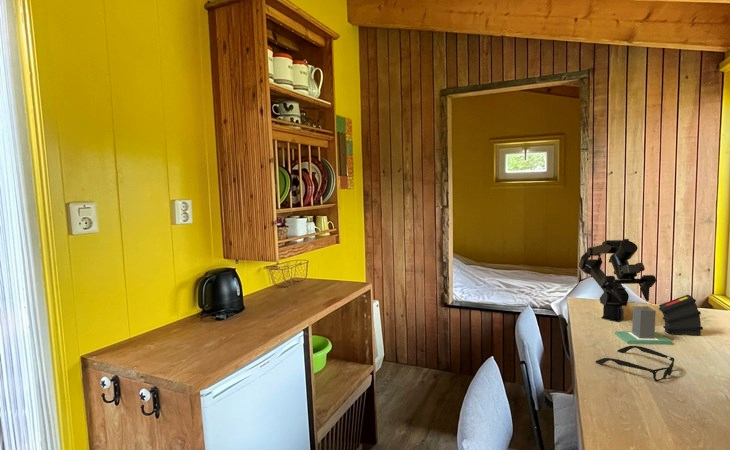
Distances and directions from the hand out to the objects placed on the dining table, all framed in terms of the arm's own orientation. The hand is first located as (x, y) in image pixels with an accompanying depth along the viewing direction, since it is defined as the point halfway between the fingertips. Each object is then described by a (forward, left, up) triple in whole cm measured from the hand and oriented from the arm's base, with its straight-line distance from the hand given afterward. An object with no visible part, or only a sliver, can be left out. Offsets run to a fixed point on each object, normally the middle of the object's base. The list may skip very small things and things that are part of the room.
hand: (634, 301), depth 153 cm
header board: (+4, -4, -13) cm, 14 cm away
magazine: (+12, +11, -13) cm, 21 cm away
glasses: (+11, -31, -13) cm, 35 cm away
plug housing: (+5, -5, -11) cm, 13 cm away
